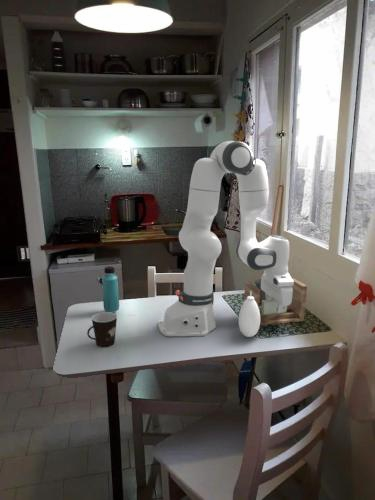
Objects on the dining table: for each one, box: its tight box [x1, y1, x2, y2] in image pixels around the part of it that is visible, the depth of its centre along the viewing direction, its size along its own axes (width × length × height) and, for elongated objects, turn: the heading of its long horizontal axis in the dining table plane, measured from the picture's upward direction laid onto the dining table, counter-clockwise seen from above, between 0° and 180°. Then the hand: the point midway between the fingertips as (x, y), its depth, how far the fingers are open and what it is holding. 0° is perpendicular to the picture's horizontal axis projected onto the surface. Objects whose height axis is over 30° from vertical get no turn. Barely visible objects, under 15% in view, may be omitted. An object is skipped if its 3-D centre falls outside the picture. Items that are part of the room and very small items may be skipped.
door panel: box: [260, 298, 288, 316], centre depth 154 cm, size 10×3×7 cm, turn 104°
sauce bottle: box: [238, 292, 261, 338], centre depth 139 cm, size 8×8×18 cm
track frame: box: [243, 277, 308, 326], centre depth 154 cm, size 22×10×15 cm, turn 104°
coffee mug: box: [86, 311, 118, 349], centre depth 132 cm, size 12×9×10 cm
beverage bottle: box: [101, 266, 120, 313], centre depth 158 cm, size 6×7×20 cm
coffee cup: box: [254, 278, 267, 304], centre depth 173 cm, size 8×8×10 cm
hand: (273, 307), depth 155 cm, fingers open, 8 cm apart
